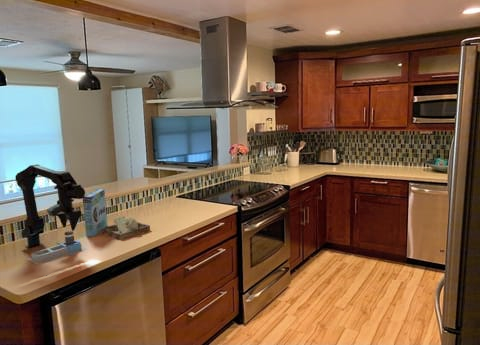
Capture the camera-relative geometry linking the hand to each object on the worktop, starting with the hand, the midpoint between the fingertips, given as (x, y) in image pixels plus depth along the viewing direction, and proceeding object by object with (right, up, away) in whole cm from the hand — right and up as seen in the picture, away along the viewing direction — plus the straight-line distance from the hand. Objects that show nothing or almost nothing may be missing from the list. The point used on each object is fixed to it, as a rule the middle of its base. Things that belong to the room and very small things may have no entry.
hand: (68, 228), depth 179 cm
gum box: (+1, -7, +34) cm, 34 cm away
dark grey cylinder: (0, -11, +2) cm, 11 cm away
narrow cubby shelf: (-4, -13, -3) cm, 14 cm away
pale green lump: (+18, -7, +28) cm, 34 cm away
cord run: (-8, -11, +9) cm, 16 cm away
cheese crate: (+19, -6, +30) cm, 36 cm away
